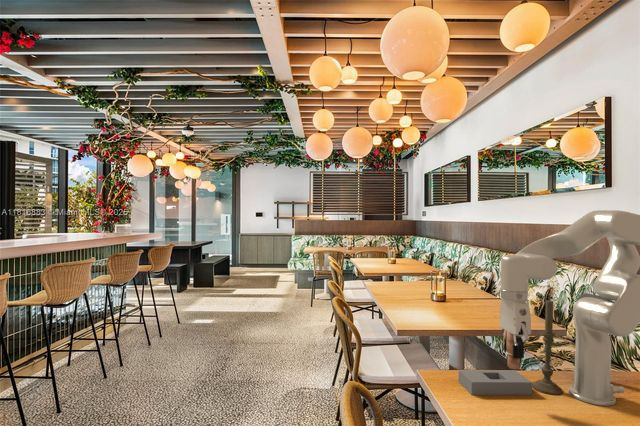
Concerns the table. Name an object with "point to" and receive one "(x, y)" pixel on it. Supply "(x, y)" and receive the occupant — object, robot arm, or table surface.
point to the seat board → (494, 382)
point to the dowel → (512, 362)
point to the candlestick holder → (548, 356)
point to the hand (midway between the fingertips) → (513, 354)
